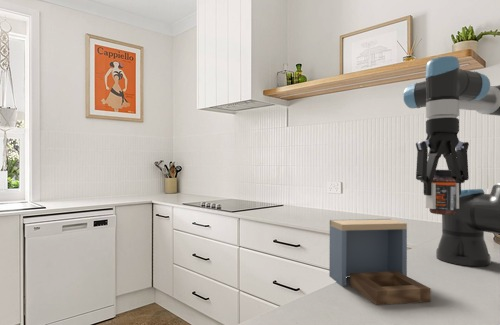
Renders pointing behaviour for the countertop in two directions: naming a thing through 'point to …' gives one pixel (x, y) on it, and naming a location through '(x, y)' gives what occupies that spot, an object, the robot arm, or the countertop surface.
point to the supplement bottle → (444, 193)
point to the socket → (389, 287)
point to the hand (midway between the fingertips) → (442, 208)
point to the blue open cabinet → (367, 247)
